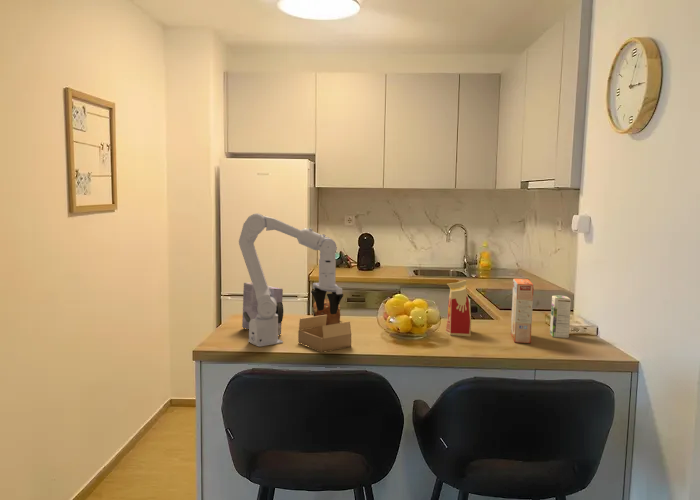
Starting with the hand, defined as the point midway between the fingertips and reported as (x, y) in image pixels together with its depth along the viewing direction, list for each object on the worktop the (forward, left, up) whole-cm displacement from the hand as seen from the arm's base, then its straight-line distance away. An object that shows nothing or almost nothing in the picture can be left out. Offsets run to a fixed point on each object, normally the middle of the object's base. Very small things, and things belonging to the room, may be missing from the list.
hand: (326, 312), depth 189 cm
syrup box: (+74, -43, -10) cm, 86 cm away
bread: (+15, +21, -11) cm, 28 cm away
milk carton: (+47, -18, -10) cm, 51 cm away
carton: (-3, -3, -10) cm, 11 cm away
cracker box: (+59, -37, -10) cm, 70 cm away
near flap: (-3, -10, -4) cm, 11 cm away
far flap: (-3, +3, -4) cm, 6 cm away
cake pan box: (-12, +24, -11) cm, 29 cm away
